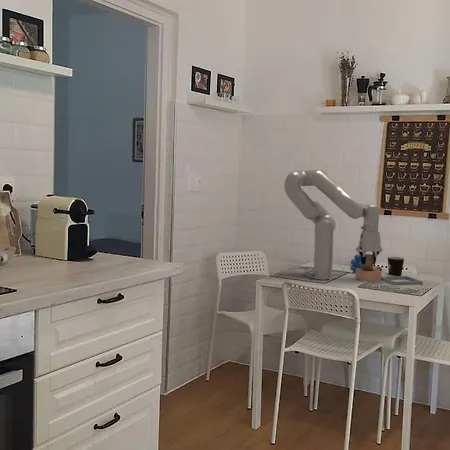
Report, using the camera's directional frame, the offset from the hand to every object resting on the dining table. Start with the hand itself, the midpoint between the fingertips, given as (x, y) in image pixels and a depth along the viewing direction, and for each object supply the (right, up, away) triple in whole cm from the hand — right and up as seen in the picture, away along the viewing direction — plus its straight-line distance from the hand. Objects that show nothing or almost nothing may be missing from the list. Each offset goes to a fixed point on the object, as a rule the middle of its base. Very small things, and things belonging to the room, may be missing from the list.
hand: (368, 263), depth 318 cm
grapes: (-1, -7, +20) cm, 21 cm away
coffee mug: (+18, -8, +18) cm, 27 cm away
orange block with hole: (0, -9, +1) cm, 9 cm away
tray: (+16, -10, -3) cm, 19 cm away
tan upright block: (0, -6, +1) cm, 6 cm away
